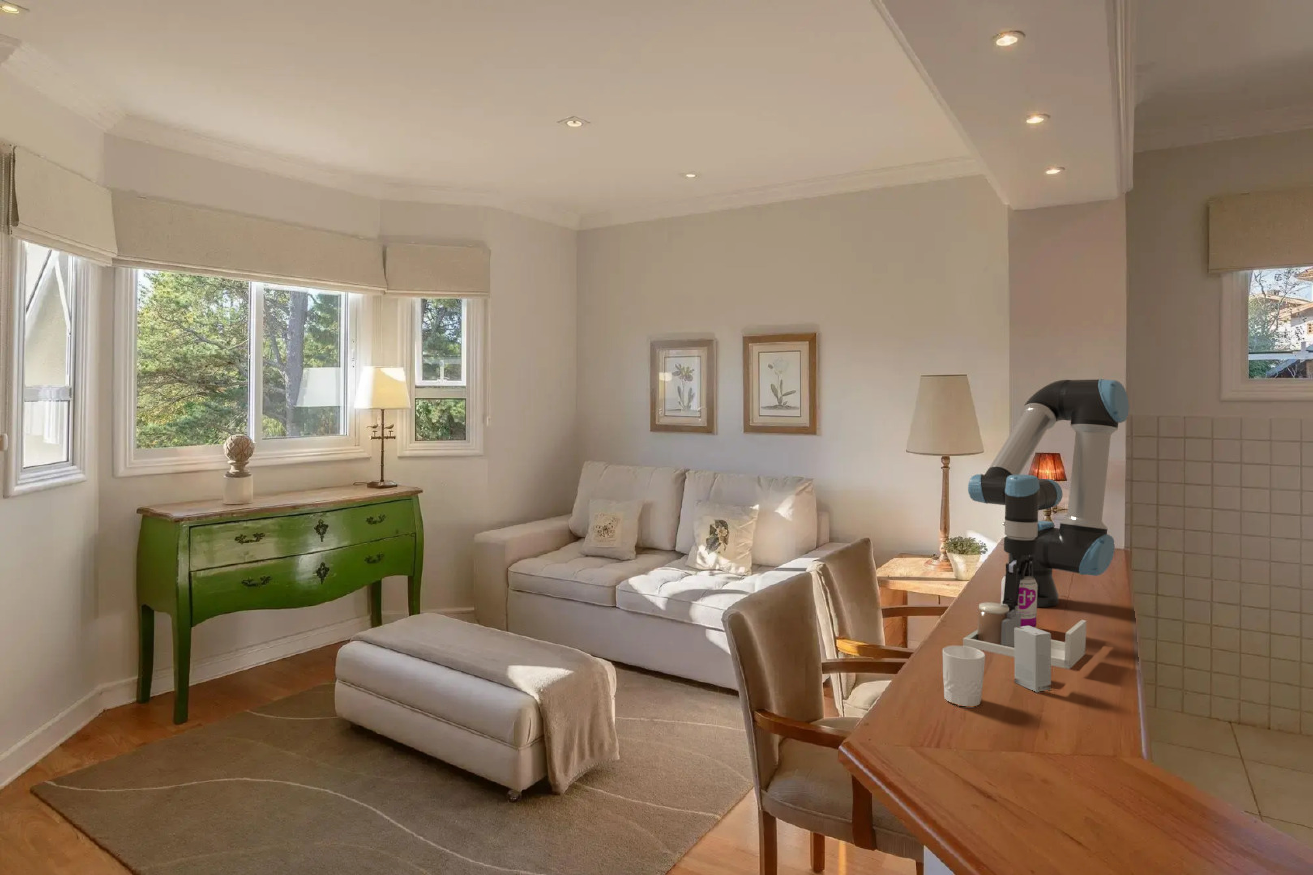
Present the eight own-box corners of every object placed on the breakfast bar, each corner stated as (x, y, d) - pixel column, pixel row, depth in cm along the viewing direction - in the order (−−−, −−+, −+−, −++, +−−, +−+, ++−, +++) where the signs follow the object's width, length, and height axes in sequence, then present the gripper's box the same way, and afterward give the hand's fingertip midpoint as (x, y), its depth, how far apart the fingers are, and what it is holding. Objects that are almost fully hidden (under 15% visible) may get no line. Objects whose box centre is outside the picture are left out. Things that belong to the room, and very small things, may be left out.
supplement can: (1039, 641, 192) (1041, 581, 191) (1003, 639, 194) (1005, 579, 193) (1030, 631, 200) (1032, 573, 199) (996, 629, 202) (998, 572, 201)
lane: (982, 637, 196) (983, 602, 195) (1084, 658, 180) (1086, 620, 180) (962, 650, 186) (963, 613, 185) (1069, 674, 171) (1070, 634, 170)
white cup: (982, 696, 159) (983, 647, 158) (985, 711, 152) (986, 660, 151) (941, 691, 162) (942, 643, 161) (941, 705, 154) (942, 656, 154)
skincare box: (1052, 690, 162) (1053, 632, 161) (1035, 693, 160) (1036, 635, 159) (1028, 680, 168) (1030, 624, 167) (1012, 682, 166) (1013, 626, 165)
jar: (983, 636, 192) (984, 600, 192) (1013, 642, 188) (1014, 605, 187) (972, 643, 187) (973, 606, 187) (1003, 650, 183) (1004, 612, 182)
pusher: (1015, 640, 189) (1016, 606, 188) (1020, 640, 188) (1021, 607, 188) (1000, 651, 181) (1001, 616, 181) (1005, 651, 181) (1006, 617, 180)
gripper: (1018, 529, 206) (1015, 614, 207) (990, 541, 190) (987, 633, 192) (1049, 532, 201) (1046, 620, 202) (1022, 545, 185) (1019, 639, 187)
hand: (1017, 626), depth 197 cm, fingers closed on supplement can, 8 cm apart
